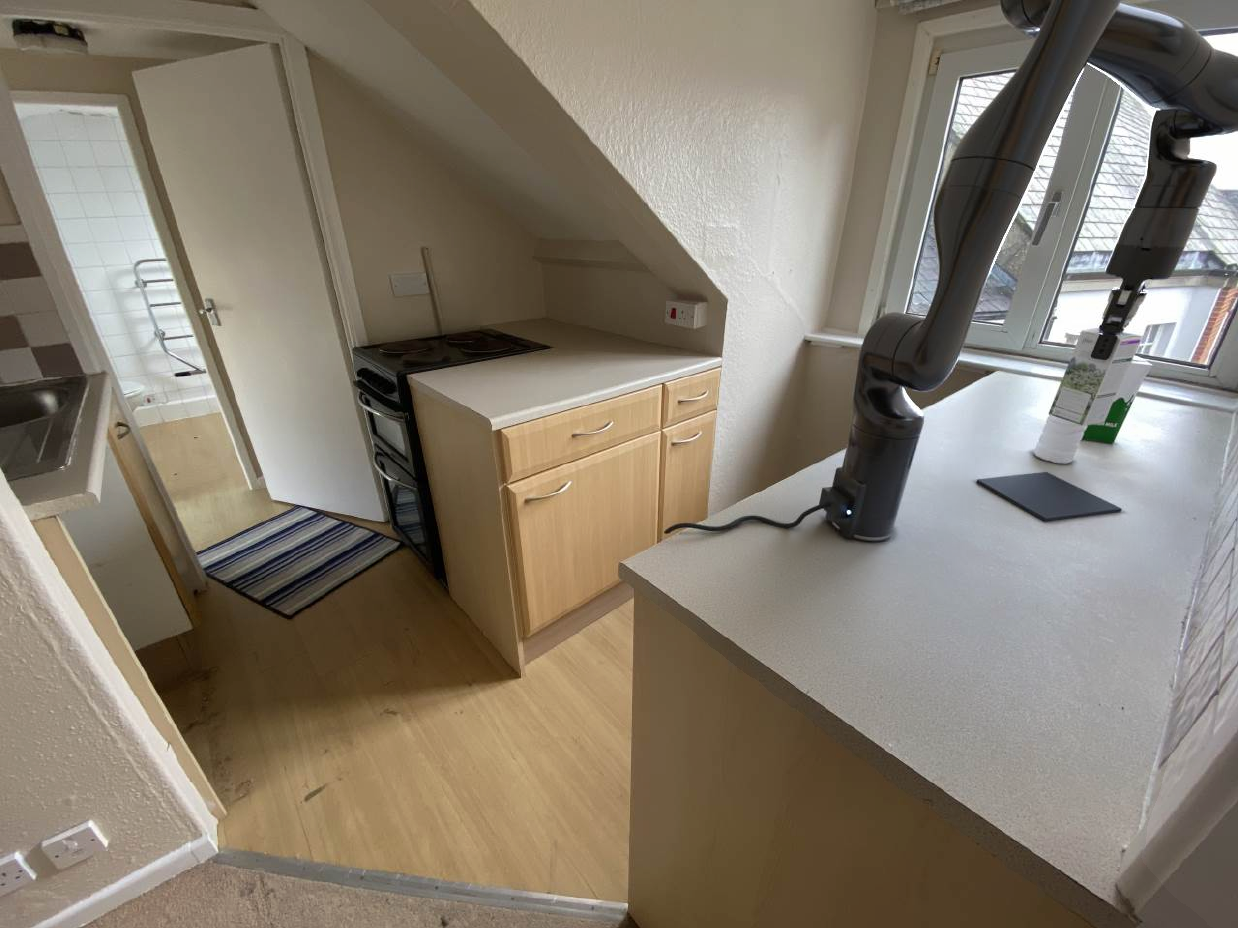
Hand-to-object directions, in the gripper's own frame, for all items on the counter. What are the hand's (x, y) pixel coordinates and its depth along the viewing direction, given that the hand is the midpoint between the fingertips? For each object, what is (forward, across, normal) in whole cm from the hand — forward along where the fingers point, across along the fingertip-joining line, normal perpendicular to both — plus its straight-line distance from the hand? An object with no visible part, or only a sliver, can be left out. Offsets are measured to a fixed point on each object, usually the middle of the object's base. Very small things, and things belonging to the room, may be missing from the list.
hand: (1102, 354), depth 84 cm
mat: (+26, 0, 0) cm, 26 cm away
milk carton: (+26, -42, +2) cm, 49 cm away
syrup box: (+11, 0, 0) cm, 11 cm away
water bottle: (+26, -21, -3) cm, 33 cm away
